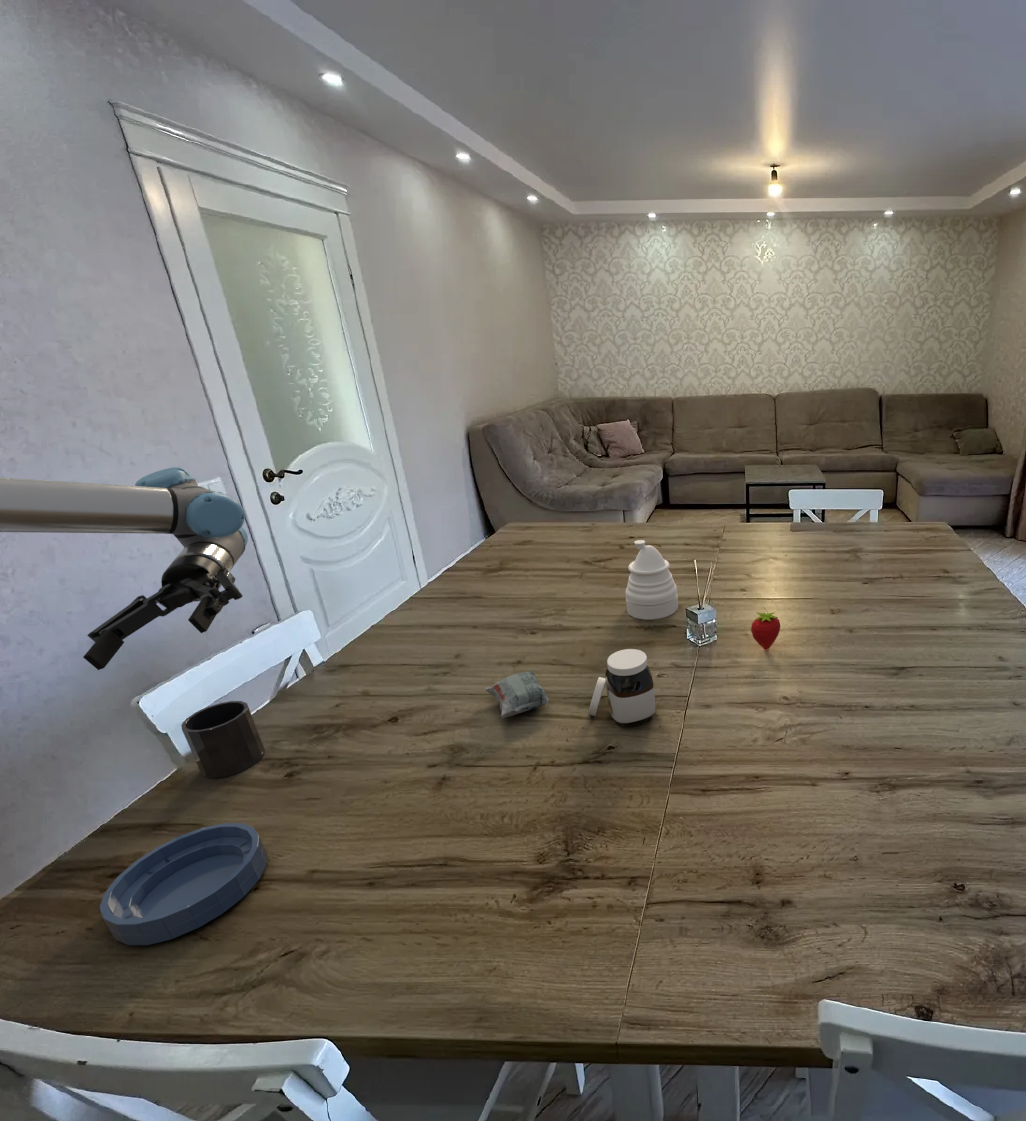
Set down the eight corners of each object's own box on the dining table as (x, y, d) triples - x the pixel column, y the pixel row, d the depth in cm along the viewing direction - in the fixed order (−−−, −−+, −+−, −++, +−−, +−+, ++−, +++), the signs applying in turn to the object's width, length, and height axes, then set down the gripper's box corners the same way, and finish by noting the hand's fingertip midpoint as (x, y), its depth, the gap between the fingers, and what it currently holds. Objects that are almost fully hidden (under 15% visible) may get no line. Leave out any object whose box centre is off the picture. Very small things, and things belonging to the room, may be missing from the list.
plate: (76, 949, 66) (61, 924, 65) (190, 845, 80) (179, 823, 78) (202, 948, 66) (190, 924, 65) (294, 844, 80) (286, 822, 78)
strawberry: (745, 653, 126) (744, 611, 122) (762, 638, 132) (762, 598, 128) (768, 660, 123) (768, 618, 119) (785, 645, 129) (786, 604, 125)
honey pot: (633, 623, 139) (627, 553, 133) (621, 602, 150) (615, 536, 144) (684, 613, 144) (681, 545, 137) (669, 593, 155) (665, 529, 148)
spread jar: (662, 722, 104) (657, 666, 99) (599, 742, 99) (591, 684, 95) (640, 689, 114) (635, 636, 109) (582, 705, 109) (574, 651, 104)
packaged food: (502, 729, 102) (498, 705, 101) (487, 697, 111) (482, 675, 110) (552, 712, 107) (549, 689, 105) (533, 682, 116) (530, 661, 114)
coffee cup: (188, 779, 92) (166, 732, 88) (230, 745, 99) (212, 700, 96) (238, 778, 92) (219, 731, 88) (277, 745, 99) (260, 700, 96)
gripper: (287, 563, 108) (255, 628, 91) (134, 616, 102) (70, 696, 86) (260, 530, 103) (221, 592, 87) (99, 583, 98) (24, 660, 81)
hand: (146, 644), depth 86 cm, fingers open, 13 cm apart
